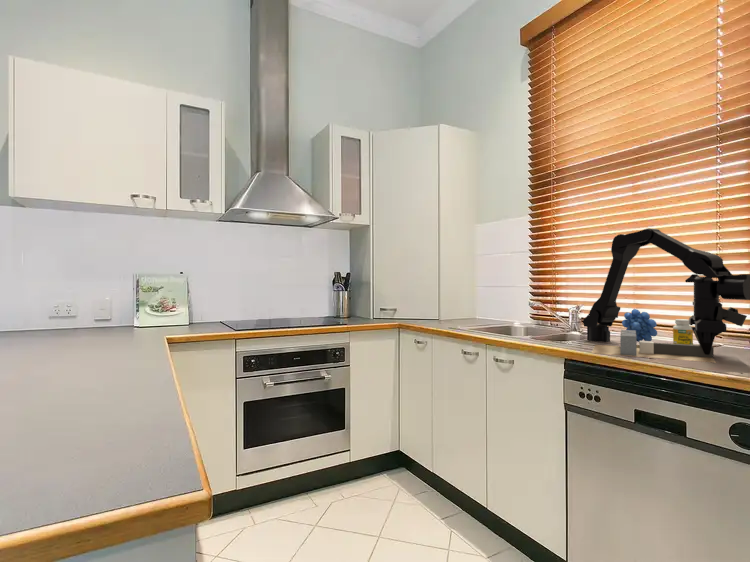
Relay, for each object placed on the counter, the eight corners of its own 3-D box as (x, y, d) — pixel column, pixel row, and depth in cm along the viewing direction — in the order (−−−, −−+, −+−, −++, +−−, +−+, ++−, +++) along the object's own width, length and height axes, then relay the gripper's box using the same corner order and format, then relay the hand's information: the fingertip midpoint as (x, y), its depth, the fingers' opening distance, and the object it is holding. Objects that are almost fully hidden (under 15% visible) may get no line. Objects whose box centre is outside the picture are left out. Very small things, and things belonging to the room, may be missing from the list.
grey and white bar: (634, 352, 127) (634, 341, 127) (634, 350, 130) (634, 340, 130) (714, 358, 117) (713, 346, 117) (711, 356, 121) (711, 344, 121)
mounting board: (591, 357, 127) (591, 353, 127) (595, 348, 142) (595, 344, 142) (716, 367, 112) (716, 362, 112) (706, 356, 127) (706, 352, 127)
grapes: (617, 341, 157) (617, 309, 157) (624, 339, 162) (624, 308, 162) (652, 345, 148) (652, 310, 148) (659, 343, 153) (659, 309, 152)
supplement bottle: (689, 347, 143) (689, 319, 143) (695, 350, 138) (695, 320, 138) (670, 346, 144) (670, 318, 144) (676, 349, 139) (676, 320, 139)
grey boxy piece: (620, 354, 124) (620, 335, 124) (621, 346, 137) (621, 329, 137) (636, 355, 122) (636, 336, 122) (635, 347, 135) (635, 330, 135)
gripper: (752, 300, 108) (751, 362, 108) (736, 297, 124) (736, 351, 124) (697, 299, 113) (697, 358, 113) (688, 297, 129) (688, 348, 129)
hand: (706, 353), depth 120 cm, fingers closed on grey and white bar, 2 cm apart
